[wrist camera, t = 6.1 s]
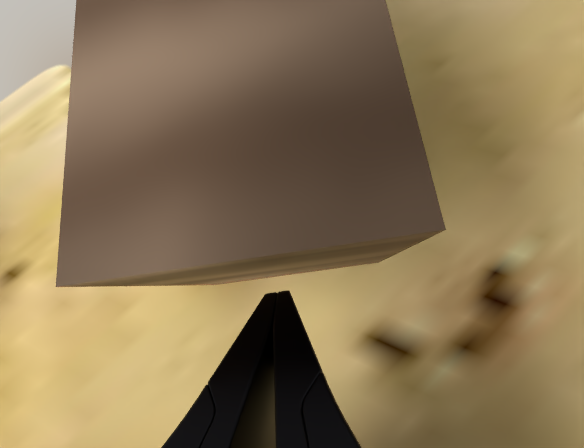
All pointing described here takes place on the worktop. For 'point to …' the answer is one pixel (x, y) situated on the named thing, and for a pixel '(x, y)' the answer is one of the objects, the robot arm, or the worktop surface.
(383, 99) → the walnut box
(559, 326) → the worktop surface
